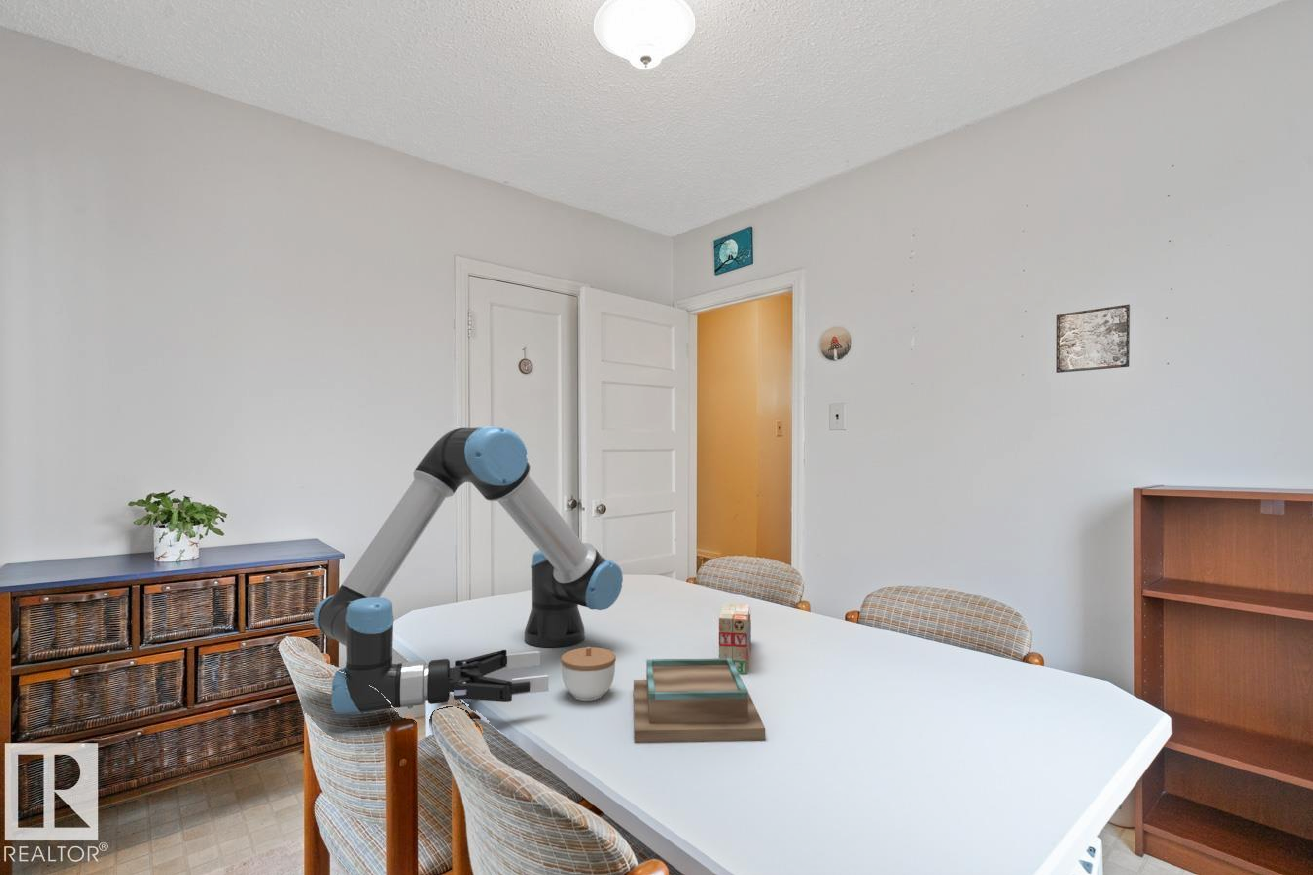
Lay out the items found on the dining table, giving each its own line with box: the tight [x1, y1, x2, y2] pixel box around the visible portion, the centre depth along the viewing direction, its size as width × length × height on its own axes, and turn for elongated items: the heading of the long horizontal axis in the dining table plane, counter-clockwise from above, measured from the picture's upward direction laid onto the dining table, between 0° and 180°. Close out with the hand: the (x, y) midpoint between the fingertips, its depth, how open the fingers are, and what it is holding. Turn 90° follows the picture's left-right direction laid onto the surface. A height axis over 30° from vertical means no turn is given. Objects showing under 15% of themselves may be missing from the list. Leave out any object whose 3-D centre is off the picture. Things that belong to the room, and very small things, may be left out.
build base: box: [633, 658, 766, 744], centre depth 114 cm, size 22×22×7 cm
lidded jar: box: [560, 646, 617, 702], centre depth 122 cm, size 11×11×9 cm
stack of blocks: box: [718, 602, 752, 675], centre depth 144 cm, size 21×6×12 cm, turn 169°
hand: (543, 669), depth 119 cm, fingers open, 13 cm apart
